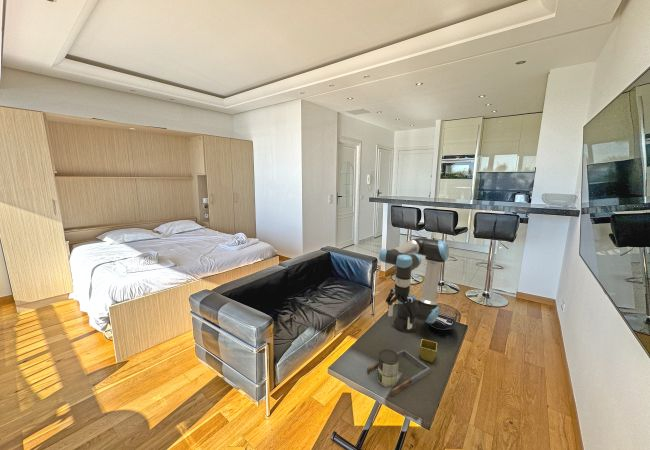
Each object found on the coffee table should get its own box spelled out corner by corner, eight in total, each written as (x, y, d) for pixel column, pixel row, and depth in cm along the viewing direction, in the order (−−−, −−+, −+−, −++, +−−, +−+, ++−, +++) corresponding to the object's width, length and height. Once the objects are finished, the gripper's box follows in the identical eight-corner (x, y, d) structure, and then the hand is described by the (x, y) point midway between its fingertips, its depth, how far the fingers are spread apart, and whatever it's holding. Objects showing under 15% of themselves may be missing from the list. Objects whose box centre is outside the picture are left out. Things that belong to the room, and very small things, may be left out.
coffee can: (373, 378, 136) (374, 355, 133) (384, 369, 142) (385, 346, 140) (390, 390, 128) (391, 366, 125) (401, 380, 135) (403, 356, 132)
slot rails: (385, 363, 147) (385, 358, 146) (411, 384, 132) (411, 379, 132) (366, 372, 140) (367, 368, 139) (391, 396, 125) (392, 391, 124)
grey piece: (403, 353, 155) (403, 349, 154) (429, 373, 140) (430, 368, 140) (385, 363, 147) (385, 358, 146) (411, 384, 132) (411, 379, 132)
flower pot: (420, 351, 157) (421, 338, 155) (435, 356, 153) (437, 342, 152) (418, 360, 149) (419, 346, 148) (434, 365, 146) (436, 351, 144)
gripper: (380, 277, 142) (378, 312, 147) (416, 296, 121) (413, 336, 126) (390, 275, 146) (388, 309, 150) (427, 292, 125) (423, 331, 129)
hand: (399, 321), depth 138 cm, fingers open, 13 cm apart
